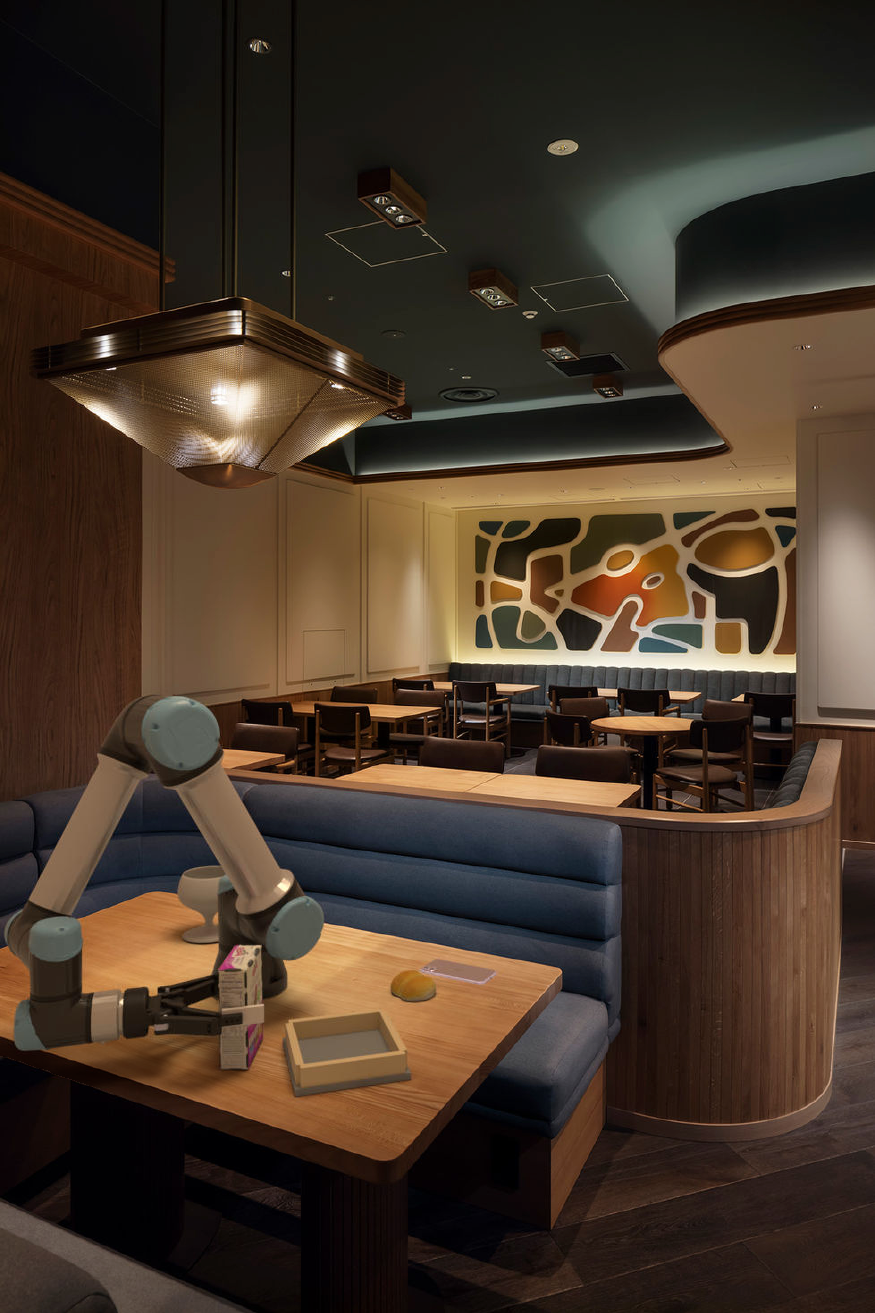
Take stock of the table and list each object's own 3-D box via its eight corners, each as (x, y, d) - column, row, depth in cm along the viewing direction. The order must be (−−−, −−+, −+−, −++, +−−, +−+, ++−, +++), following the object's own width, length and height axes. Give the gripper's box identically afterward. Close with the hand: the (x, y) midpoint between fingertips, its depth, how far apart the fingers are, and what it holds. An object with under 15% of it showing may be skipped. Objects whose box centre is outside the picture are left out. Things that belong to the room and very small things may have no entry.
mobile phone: (482, 982, 170) (417, 968, 177) (482, 986, 170) (417, 973, 177) (498, 969, 176) (435, 957, 183) (498, 974, 176) (435, 961, 183)
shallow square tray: (282, 1043, 145) (282, 1019, 145) (385, 1029, 150) (385, 1007, 150) (295, 1096, 128) (295, 1070, 128) (411, 1079, 133) (411, 1053, 133)
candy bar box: (234, 1038, 147) (234, 944, 147) (263, 1038, 147) (263, 944, 146) (217, 1071, 136) (216, 968, 135) (248, 1071, 135) (248, 968, 135)
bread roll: (413, 1007, 160) (413, 985, 160) (384, 992, 167) (384, 972, 167) (446, 995, 165) (445, 974, 165) (416, 981, 172) (416, 961, 172)
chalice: (251, 934, 200) (251, 871, 200) (200, 950, 190) (199, 883, 190) (217, 922, 209) (216, 861, 209) (166, 936, 199) (165, 872, 199)
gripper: (128, 1007, 147) (255, 992, 153) (116, 1073, 124) (267, 1053, 130) (127, 963, 147) (255, 950, 153) (115, 1022, 124) (266, 1004, 130)
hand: (261, 997), depth 142 cm, fingers closed on candy bar box, 12 cm apart
